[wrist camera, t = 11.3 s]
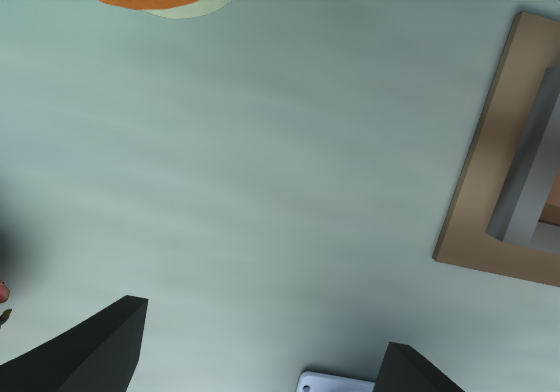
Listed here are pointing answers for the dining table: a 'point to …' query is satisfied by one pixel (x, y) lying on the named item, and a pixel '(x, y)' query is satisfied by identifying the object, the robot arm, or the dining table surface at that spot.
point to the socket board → (512, 165)
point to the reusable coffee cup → (172, 7)
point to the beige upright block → (555, 192)
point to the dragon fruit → (0, 296)
